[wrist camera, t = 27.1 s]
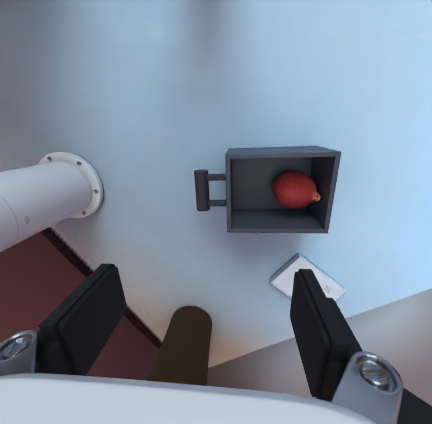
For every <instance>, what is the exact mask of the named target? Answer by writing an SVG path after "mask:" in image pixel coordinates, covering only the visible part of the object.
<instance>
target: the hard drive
mask: <svg viewBox="0 0 432 424" xmlns="http://www.w3.org/2000/svg"><path fill="white" fill-rule="evenodd" d="M299 269H312V271H313V272H314V274H315V276H316V278H317V280H318V282H319V284H320V286H321V288H322V290H323V292H324V293H325V295H326V297H328V298H333V299H334V301H335V300H337V299H338V298H340V297H341V296H342V295H344V294H345V293H346V291H345V289H344V288H343V287H342V286H341V285H339V284H338V283H337V282H335V281H334V280H333V279H331V278H330V277H329V276H328V275H326V274H325V273H324V272H322V271H321V270H320V269H318V268H317V267H316V266H314V265H313V264H312V263H310V262H309V261H308V260H306V259H305V258H304V257H303V256H301V255H300V254H299V253H298V254H296V255H295V256H294V257H293V258H292V259H290V260H289V261H288V262H287V263H286V264H285V265H284V266H283V267H282V268H280V269H279V270H278V271H277V272H276V273H275V274H274V275H273V276H271V278H270V279H269V281H270V283H271V284H272V285H274V286H275V287H277V288H278V289H279V290H281V291H282V292H284V293H285V294H286V295H288V296H289V297H291V298H292V291H293V282H294V274H295V272H298V270H299Z"/></svg>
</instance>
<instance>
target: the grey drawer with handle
mask: <svg viewBox="0 0 432 424" xmlns="http://www.w3.org/2000/svg"><path fill="white" fill-rule="evenodd" d="M225 156H226V174H208V170H196V171H194V175H195V189H196V202H197V210H198V211H208V210H209V209H210V206H227V232H250V233H328V229H329V223H330V217H331V211H332V205H333V199H334V193H335V187H336V181H337V174H338V168H339V162H340V156H341V152H340V151H336V150H332V149H327V148H323V147H318V146H300V147H268V148H235V149H228V151H227V153H226V155H225ZM292 170H298V171H301V172H304V173H306V174H307V175H308V176H309V177H311V179H312V180H313V181H314V183H315V185H316V189H317V193H318V194H319V195H320V196H321V198H320V200H319V201H313V202H312V203H310V204H309V205H307V206H305V207H301V208H297V209H290V208H287V207H284V206H282V205H281V204H279V203H278V202H277V200H276V199H275V195H274V192H273V189H272V182H273V181H274V180H275V179H277V178H278V177H279V176H280V175H282V174H283V173H285V172H287V171H292ZM214 180H226V200H209V183H208V181H214Z"/></svg>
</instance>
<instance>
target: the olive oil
mask: <svg viewBox="0 0 432 424" xmlns="http://www.w3.org/2000/svg"><path fill="white" fill-rule="evenodd" d="M211 328H212V321H211V318H210V316H209V315H208V314H207V313H206V312H205V311H204V310H202V309H200V308H198V307H194V306H185V307H182V308H179V309H178V310H177V311H176V312H175V313H174V314H173V317H172V319H171V322H170V324H169V327H168V330H167V332H166V335H165V337H164V340H163V342H162V345H161V347H160V350H159V352H158V355H157V357H156V360H155V362H154V364H153V367H152V369H151V371H150V374H149V376H148V379H147V381H154V382H166V383H178V384H189V385H201V386H207V371H208V360H209V348H210V337H211Z"/></svg>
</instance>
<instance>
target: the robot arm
mask: <svg viewBox="0 0 432 424" xmlns="http://www.w3.org/2000/svg"><path fill="white" fill-rule="evenodd" d="M102 200H103V186H102V183H101V180H100V178H99V175H98V174H97V172H96V171H95V169H94V168H93V167H92V166H91V165H90V164H89V163H88V162H87V161H86V160H85V159H83V158H82V157H80V156H78V155H76V154H73V153H70V152H54V153H50V154H47V155H46V156H44V157H43V158H42V159H41V160H40V162H39V163H38V165H35V166H29V167H24V168H18V169H12V170H7V171H1V172H0V252H1V251H3V250H5V249H7V248H9V247H11V246H13V245H15V244H17V243H19V242H21V241H23V240H24V239H27V238H28V237H30V236H32V235H34V234H36V233H38V232H40V231H42V230H44V229H46V228H48V227H51V228H53V227H55V226H56V224H57V222H59V221H61V220H63V219H65V218H67V217H71V218H83V217H87V216H89V215H91V214H92V213H94V212H95V211H96V210H97V209H98V208H99V207H100V205H101V203H102ZM126 307H127V306H126V301H125V297H124V292H123V288H122V284H121V280H120V276H119V272H118V268H117V267H115V265H114V264H101V265H100V266H99V267H98V268H97V269H96V270H95V271H94V272H93V273H92V274H91V275H90V276H89V277H88V278H87V279H86V280H85V281H84V282H83V283H82V284H81V285H79V287H77V289H76V290H74V291H73V292H72V293H71V294H70V296H68V297H67V298H66V299H65V300H64V301H63V302H62V303H61V304H60V305H59V306H58V307H57V308H56V309H55V310H54V311H53V312H52V313H51V314H50V315H49V316H48V317H47V318H46V319H45V320H44V321H43V322H42V323H41V324H40V325H39V327H40V330H39V331H38V332H37V333H36V332H35V331H31V330H28V331H23V332H20V333H17V334H15V335H13V336H10V337H9V338H7V339H6V340H4V341H3V342H2V343H0V424H432V406H430V405H429V404H427V403H426V402H424V401H423V400H421V399H420V398H418V397H416V396H415V395H414V394H412V393H411V392H409V391H408V390H406V389H405V388H403V381H402V379H401V377H400V375H399V373H398V372H397V371H396V369H395V368H394V367H393V366H392V365H391V364H390V363H389V362H387V361H386V360H384V359H383V358H381V357H380V356H377V355H376V354H373V353H370V352H366V351H363V350H362V349H361V347H360V345H359V343H358V341H357V340H356V338H355V336H354V334H353V333H352V331H351V329H350V327H349V326H348V324H347V322H346V320H345V318H344V316H343V315H342V313H341V311H340V309H339V308H338V306H337V304H336V302H335V301H334V299H333V298H328V297H326V295H325V293H324V292H323V290H322V288H321V286H320V284H319V282H318V280H317V278H316V276H315V274H314V272H313V271H312V269H299V270H298V272H295V274H294V282H293V291H292V300H291V309H290V319H291V323H292V327H293V330H294V334H295V338H296V341H297V345H298V348H299V352H300V356H301V360H302V363H303V367H304V370H305V374H306V378H307V382H308V385H309V389H310V392H311V395H312V397H316V398H317V399H316V398H310V397H304V396H298V395H292V394H282V393H273V392H264V391H255V390H244V389H234V388H222V387H212V386H201V385H189V384H178V383H166V382H154V381H142V380H130V379H117V378H104V377H92V376H86V374H87V373H88V371H89V370H90V368H91V366H92V365H93V363H94V362H95V360H96V358H97V357H98V355H99V354H100V352H101V350H102V349H103V347H104V345H105V344H106V342H107V341H108V339H109V337H110V336H111V334H112V333H113V331H114V329H115V327H116V326H117V324H118V323H119V321H120V320H121V318H122V316H123V315H124V313H125V311H126Z"/></svg>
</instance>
